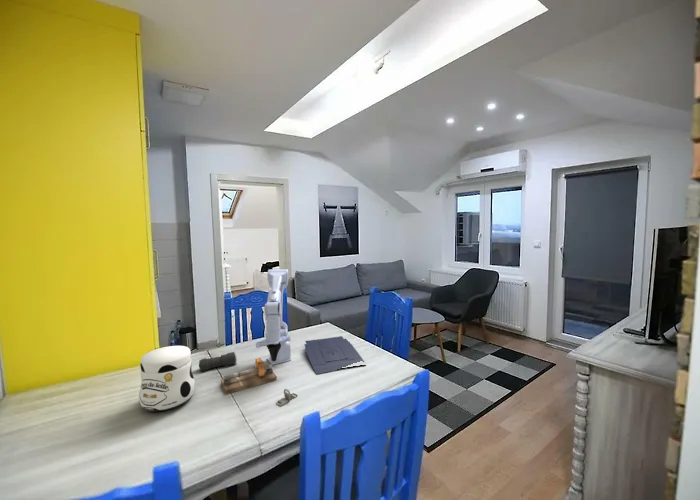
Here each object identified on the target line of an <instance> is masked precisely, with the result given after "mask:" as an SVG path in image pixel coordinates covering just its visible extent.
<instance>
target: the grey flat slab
mask: <svg viewBox="0 0 700 500" xmlns="http://www.w3.org/2000/svg"><path fill="white" fill-rule="evenodd" d="M304 342H305V343H304V344H303V345H304V350H305V353H306V354H307V357H308V360H309V361H310V363H311V366H312V369H313V371H314V372H315V374H316V375H320V374H323V373H328V372H329V373H330V372H333V371H338V370H337V369H339V370H341V369H340V368H342V367H346V366H348V365H351V364H353V363H357V362H360V361H364V359H363V357H362V356H361V355H360V353H359V352H358V351H357V350H356V348H355V347H354V345H353V344H352V343H351V341H348V339H347V338H344V337H343V336H342V335H340V336H334V337H326V338H318V339H312V340H305V341H304Z"/></svg>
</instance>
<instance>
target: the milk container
mask: <svg viewBox="0 0 700 500" xmlns="http://www.w3.org/2000/svg"><path fill="white" fill-rule="evenodd" d="M139 365H140V376H141V377H140V378H141V379H140V380H141V382H140V383H141V384H140V388H139V391H138V398H139V404H140V406H141V408H142V409H144V410H146V411H148V412H156V413H157V412H164V411H169V410H172V409H175V408H177V407H179V406H181V405H183V404H185V403H186V402H188V401H189V400H190V399H191V397H192V396H193V395H194V392H195V387H196V381H195V377H194V374H193V371H192V353H191V349H190V348H189V347H188V346H185V345H171V346H164V347H159V348H156V349H152V350H151V351H149V352H146V353H145V354H143V355H142V356H141V358H140V364H139Z"/></svg>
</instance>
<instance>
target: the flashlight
mask: <svg viewBox="0 0 700 500" xmlns="http://www.w3.org/2000/svg"><path fill="white" fill-rule="evenodd" d="M237 362H238V361H237V353H236V351H231V352H228V353H226V354H221V355H220V356H216V357H210V358H209V357H208V358H207V357H205V358H202V359H199V363H198V368H199V371H200V372H205V371H208V370H210V369H214V368H218V367H220V366H221V367H225V366H231V365H235V364H237Z"/></svg>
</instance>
